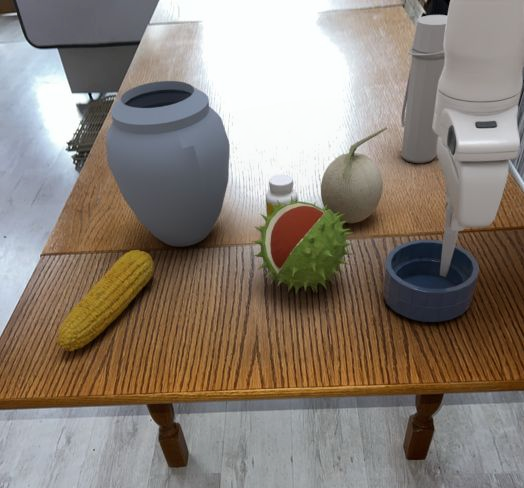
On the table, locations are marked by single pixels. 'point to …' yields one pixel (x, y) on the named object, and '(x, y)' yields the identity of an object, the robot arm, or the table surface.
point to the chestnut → (302, 244)
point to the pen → (448, 241)
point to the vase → (169, 159)
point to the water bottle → (423, 89)
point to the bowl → (429, 281)
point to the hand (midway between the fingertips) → (454, 219)
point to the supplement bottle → (280, 192)
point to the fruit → (352, 185)
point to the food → (106, 300)
